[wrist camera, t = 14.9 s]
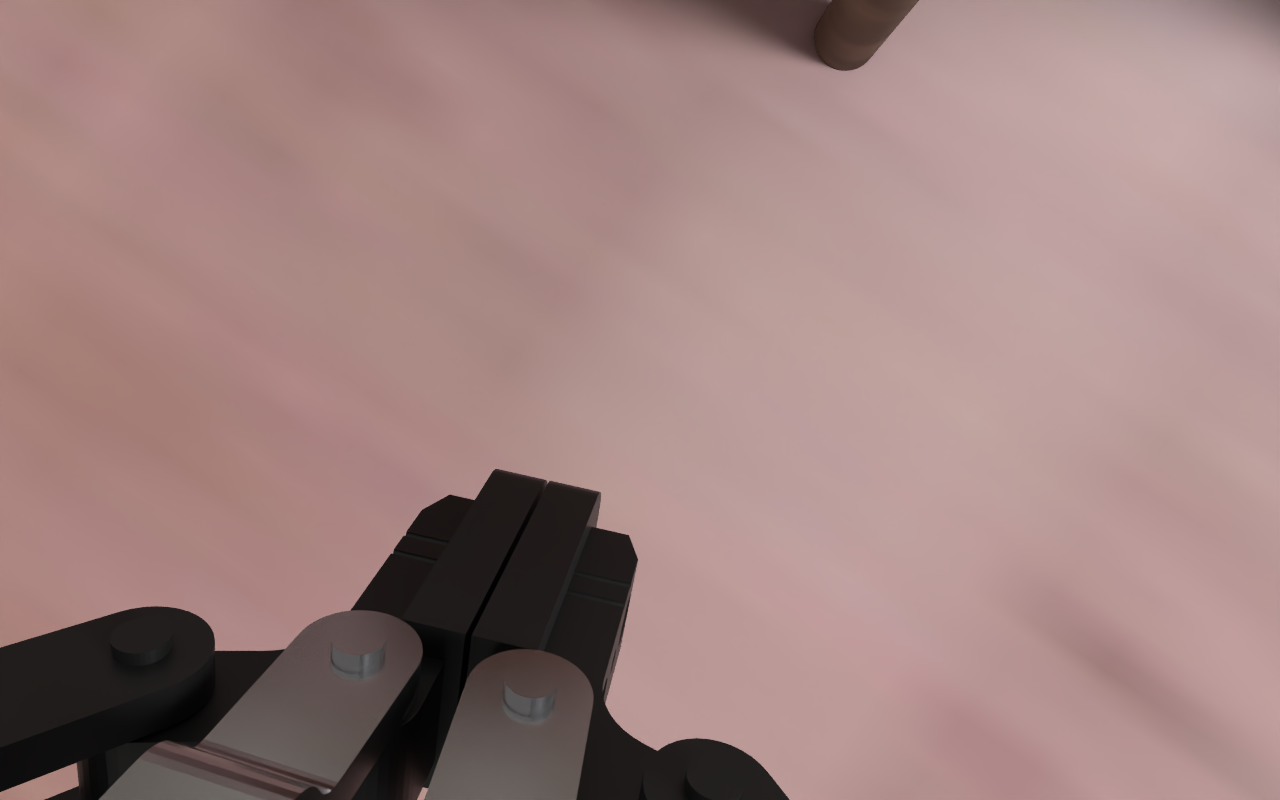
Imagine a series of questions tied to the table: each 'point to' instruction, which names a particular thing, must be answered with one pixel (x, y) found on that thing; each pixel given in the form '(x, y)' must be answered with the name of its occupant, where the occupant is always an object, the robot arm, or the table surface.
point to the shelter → (857, 30)
